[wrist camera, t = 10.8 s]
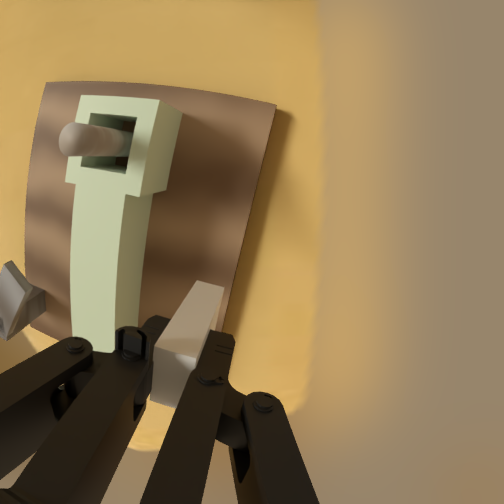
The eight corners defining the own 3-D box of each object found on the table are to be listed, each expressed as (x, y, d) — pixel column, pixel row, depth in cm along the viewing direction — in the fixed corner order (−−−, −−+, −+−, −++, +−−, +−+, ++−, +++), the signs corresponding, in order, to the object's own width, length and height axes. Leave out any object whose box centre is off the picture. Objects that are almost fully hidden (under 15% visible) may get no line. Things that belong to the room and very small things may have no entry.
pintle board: (52, 84, 21) (-22, 67, 11) (276, 107, 21) (280, 65, 11) (35, 322, 28) (-18, 366, 18) (208, 386, 28) (187, 464, 19)
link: (114, 105, 20) (81, 95, 16) (182, 112, 21) (159, 100, 16) (91, 315, 26) (64, 341, 21) (147, 334, 26) (126, 366, 21)
